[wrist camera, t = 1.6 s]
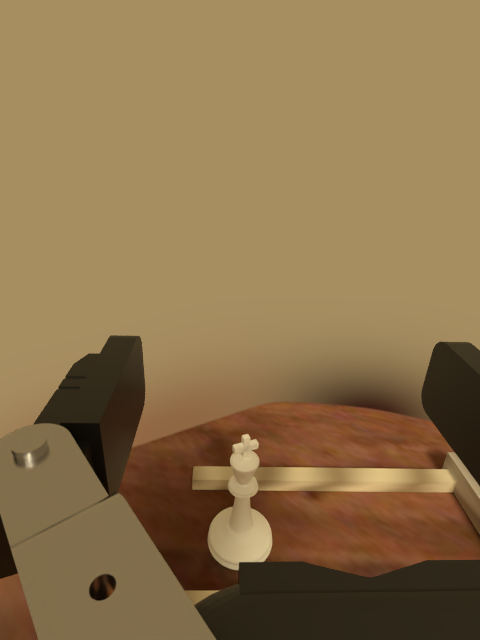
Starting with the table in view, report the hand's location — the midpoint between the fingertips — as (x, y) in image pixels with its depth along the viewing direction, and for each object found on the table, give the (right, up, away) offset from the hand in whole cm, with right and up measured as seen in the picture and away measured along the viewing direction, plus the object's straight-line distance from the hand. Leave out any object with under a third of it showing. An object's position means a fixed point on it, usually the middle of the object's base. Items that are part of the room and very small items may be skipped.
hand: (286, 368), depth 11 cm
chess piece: (-1, -16, +19) cm, 25 cm away
